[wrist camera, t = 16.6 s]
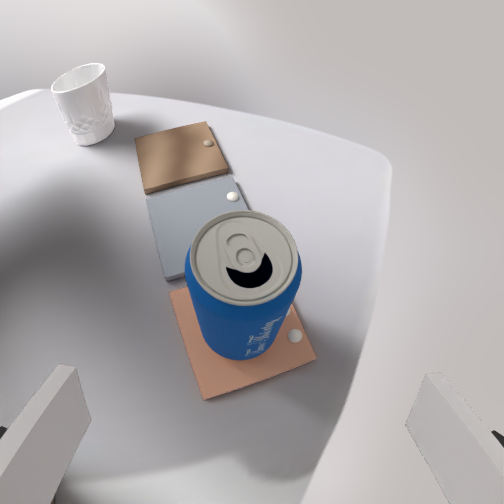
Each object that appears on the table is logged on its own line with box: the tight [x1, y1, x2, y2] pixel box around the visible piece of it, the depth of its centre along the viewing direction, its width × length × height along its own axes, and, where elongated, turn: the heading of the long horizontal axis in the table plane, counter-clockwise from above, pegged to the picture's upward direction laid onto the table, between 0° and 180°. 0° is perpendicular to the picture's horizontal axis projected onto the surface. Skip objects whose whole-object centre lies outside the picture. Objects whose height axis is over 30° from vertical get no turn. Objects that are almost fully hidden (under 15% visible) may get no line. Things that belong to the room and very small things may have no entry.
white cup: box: [51, 63, 115, 146], centre depth 36 cm, size 8×8×10 cm
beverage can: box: [185, 210, 302, 360], centre depth 21 cm, size 6×6×12 cm
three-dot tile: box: [169, 286, 317, 400], centre depth 27 cm, size 10×10×1 cm
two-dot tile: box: [146, 176, 248, 282], centre depth 32 cm, size 10×10×1 cm
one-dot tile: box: [135, 121, 228, 194], centre depth 38 cm, size 10×10×1 cm
